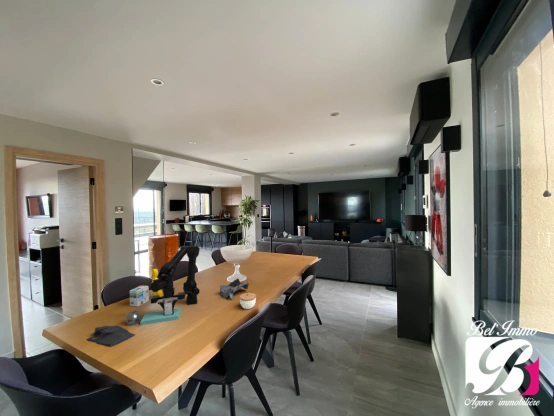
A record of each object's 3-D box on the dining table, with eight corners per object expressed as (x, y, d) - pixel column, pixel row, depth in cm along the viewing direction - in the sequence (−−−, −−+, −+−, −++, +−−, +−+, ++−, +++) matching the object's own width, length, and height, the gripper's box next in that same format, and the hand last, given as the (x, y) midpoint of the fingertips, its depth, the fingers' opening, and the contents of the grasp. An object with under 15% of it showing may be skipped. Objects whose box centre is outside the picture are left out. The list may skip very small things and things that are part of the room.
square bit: (173, 312, 140) (172, 300, 140) (172, 315, 136) (171, 302, 136) (166, 313, 139) (165, 300, 139) (164, 316, 135) (164, 303, 135)
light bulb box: (137, 306, 154) (137, 291, 154) (129, 306, 155) (128, 290, 155) (149, 300, 164) (149, 285, 164) (141, 299, 166) (141, 285, 166)
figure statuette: (170, 297, 168) (169, 268, 168) (161, 301, 161) (160, 271, 161) (155, 293, 177) (155, 265, 176) (146, 297, 170) (145, 268, 170)
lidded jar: (259, 307, 148) (259, 292, 148) (247, 313, 141) (246, 298, 140) (249, 302, 156) (248, 289, 156) (236, 308, 148) (236, 293, 148)
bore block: (180, 311, 145) (180, 307, 145) (178, 320, 134) (178, 315, 134) (145, 316, 139) (145, 312, 139) (140, 325, 128) (140, 321, 128)
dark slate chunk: (106, 353, 106) (106, 343, 106) (84, 340, 116) (83, 331, 116) (139, 336, 119) (139, 327, 119) (116, 326, 130) (116, 318, 130)
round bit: (141, 320, 135) (140, 310, 135) (137, 325, 129) (137, 315, 129) (128, 321, 134) (128, 311, 134) (124, 327, 127) (124, 316, 127)
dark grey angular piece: (217, 294, 172) (217, 282, 172) (240, 287, 186) (239, 276, 186) (229, 301, 159) (229, 288, 159) (252, 293, 172) (252, 281, 172)
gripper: (186, 280, 148) (186, 303, 148) (154, 283, 143) (155, 308, 143) (184, 285, 137) (184, 311, 137) (149, 289, 132) (150, 316, 132)
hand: (169, 311), depth 138 cm, fingers closed on square bit, 4 cm apart
